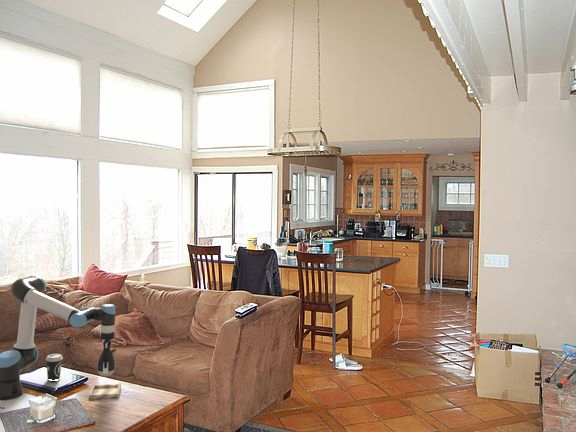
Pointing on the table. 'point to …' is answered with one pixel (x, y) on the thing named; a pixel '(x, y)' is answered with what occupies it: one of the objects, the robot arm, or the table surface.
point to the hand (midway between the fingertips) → (106, 370)
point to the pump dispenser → (110, 363)
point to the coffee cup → (54, 366)
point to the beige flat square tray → (105, 391)
